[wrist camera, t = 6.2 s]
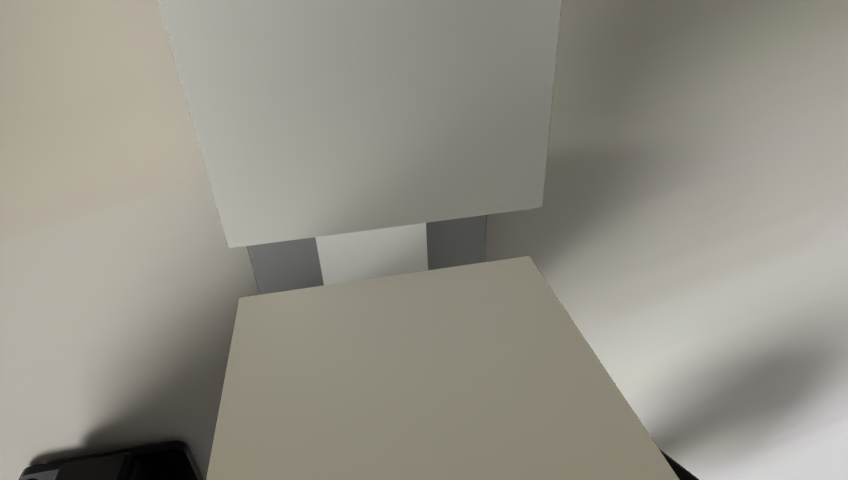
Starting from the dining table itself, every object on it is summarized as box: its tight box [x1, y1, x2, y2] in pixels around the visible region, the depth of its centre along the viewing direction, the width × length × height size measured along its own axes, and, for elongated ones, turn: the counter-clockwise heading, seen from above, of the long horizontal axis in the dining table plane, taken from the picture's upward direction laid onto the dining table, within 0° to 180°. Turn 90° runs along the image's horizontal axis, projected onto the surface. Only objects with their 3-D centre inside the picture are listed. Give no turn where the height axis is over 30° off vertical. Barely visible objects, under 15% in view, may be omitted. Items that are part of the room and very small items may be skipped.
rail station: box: [157, 0, 562, 295], centre depth 14 cm, size 22×8×9 cm, turn 2°
